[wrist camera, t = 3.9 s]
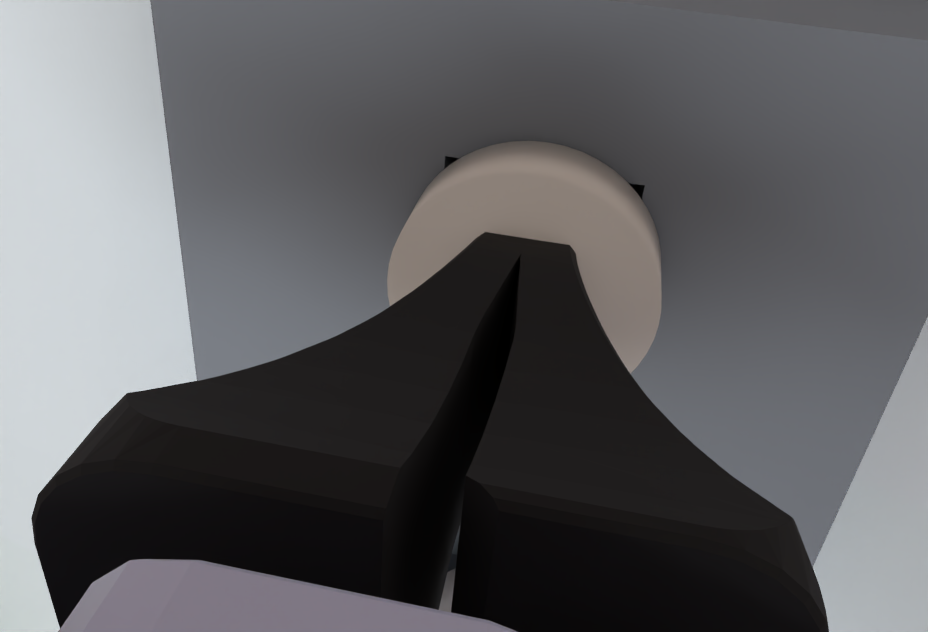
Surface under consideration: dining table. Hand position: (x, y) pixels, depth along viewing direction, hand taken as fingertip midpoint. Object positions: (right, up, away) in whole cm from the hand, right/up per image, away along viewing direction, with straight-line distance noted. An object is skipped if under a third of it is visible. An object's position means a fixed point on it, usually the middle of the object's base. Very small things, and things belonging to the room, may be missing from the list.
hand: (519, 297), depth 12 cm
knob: (+1, +2, +3) cm, 3 cm away
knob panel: (0, -4, +8) cm, 9 cm away
